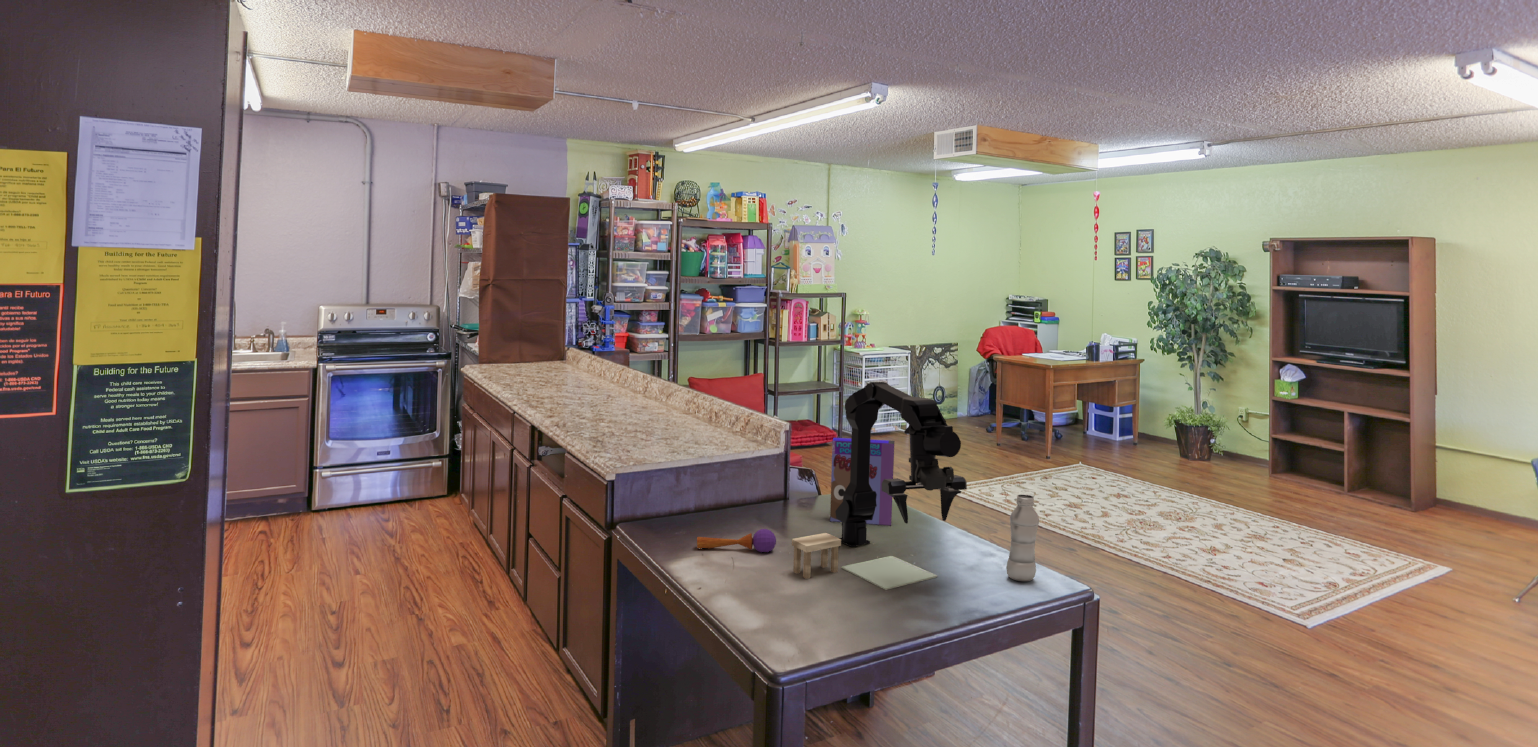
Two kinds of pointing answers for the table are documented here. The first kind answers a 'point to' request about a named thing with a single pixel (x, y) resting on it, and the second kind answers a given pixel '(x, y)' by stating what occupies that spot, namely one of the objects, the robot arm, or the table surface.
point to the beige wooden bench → (815, 544)
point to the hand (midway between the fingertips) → (925, 521)
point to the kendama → (742, 541)
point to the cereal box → (878, 472)
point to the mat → (889, 572)
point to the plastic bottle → (1023, 540)
